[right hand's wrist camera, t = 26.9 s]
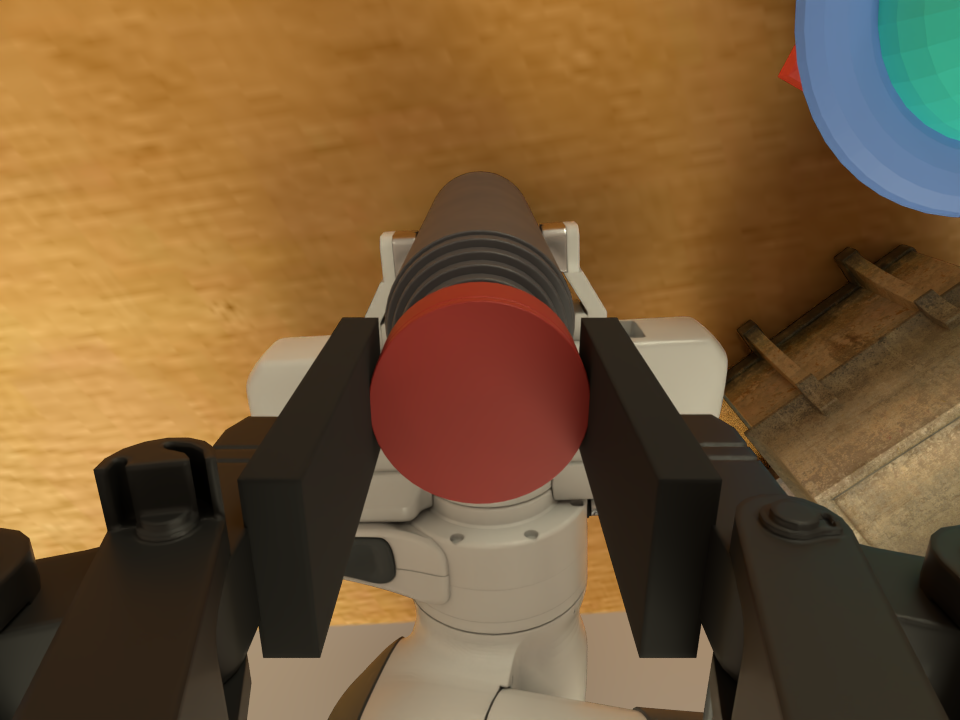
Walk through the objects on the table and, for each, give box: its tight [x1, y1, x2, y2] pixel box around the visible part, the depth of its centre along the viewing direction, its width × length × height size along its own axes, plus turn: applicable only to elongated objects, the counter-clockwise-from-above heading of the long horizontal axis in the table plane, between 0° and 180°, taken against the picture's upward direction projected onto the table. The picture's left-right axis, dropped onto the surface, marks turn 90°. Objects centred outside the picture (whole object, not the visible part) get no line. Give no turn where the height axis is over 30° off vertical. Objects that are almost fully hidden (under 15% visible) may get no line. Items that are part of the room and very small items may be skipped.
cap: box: [370, 282, 590, 504], centre depth 14 cm, size 4×4×2 cm
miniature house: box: [723, 245, 960, 557], centre depth 31 cm, size 15×14×11 cm
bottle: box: [385, 172, 575, 338], centre depth 24 cm, size 5×5×21 cm
